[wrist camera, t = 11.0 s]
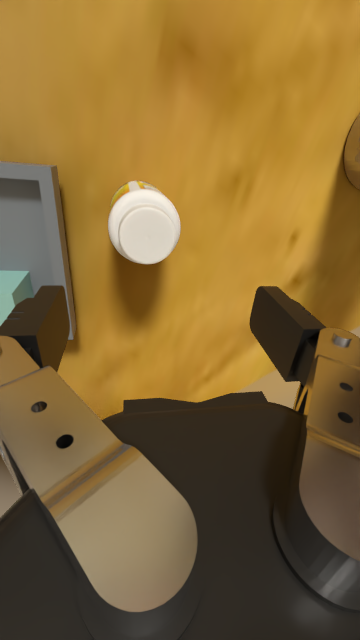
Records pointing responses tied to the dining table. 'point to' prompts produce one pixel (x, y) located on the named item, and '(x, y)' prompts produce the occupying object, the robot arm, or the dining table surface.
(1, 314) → the teal block
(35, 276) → the tray
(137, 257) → the supplement bottle
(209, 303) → the dining table surface
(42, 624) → the robot arm
